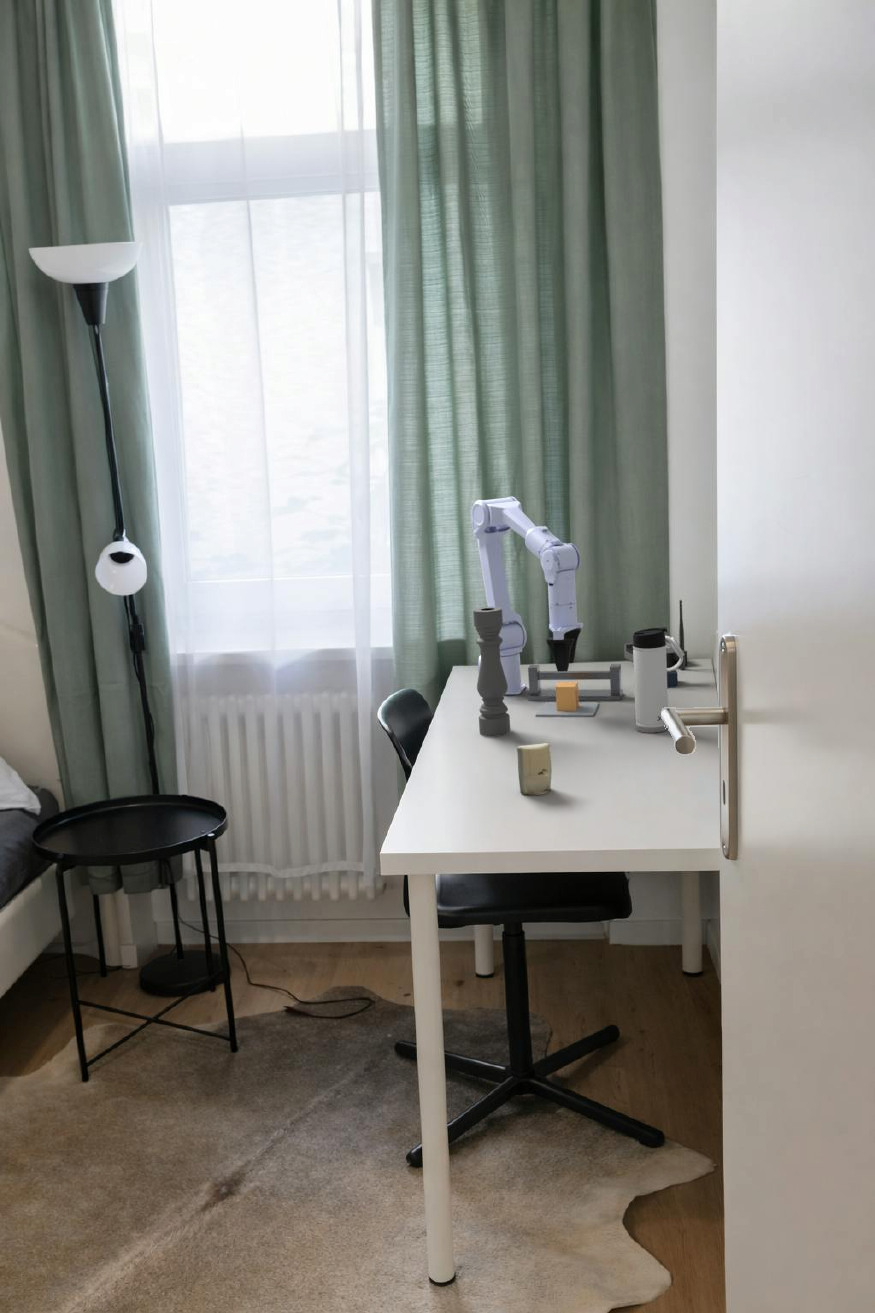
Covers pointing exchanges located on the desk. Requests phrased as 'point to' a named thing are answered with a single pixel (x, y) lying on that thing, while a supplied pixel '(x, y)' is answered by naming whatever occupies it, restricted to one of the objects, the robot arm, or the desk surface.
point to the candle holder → (491, 673)
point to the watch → (671, 672)
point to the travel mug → (650, 679)
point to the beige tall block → (534, 769)
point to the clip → (567, 696)
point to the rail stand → (583, 695)
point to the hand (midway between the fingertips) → (565, 666)
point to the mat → (581, 710)
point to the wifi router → (670, 653)
